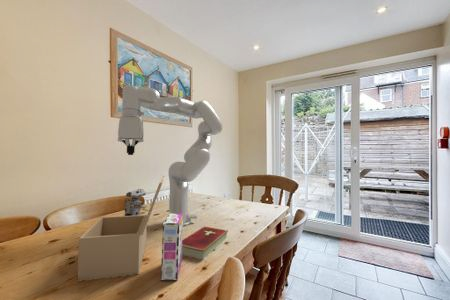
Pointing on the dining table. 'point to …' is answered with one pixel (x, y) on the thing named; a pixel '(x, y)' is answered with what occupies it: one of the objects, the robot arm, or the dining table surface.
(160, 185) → the carton lid
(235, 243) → the dining table surface
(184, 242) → the hardcover book
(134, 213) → the figurine
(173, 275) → the candy bar box
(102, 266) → the carton
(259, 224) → the dining table surface
